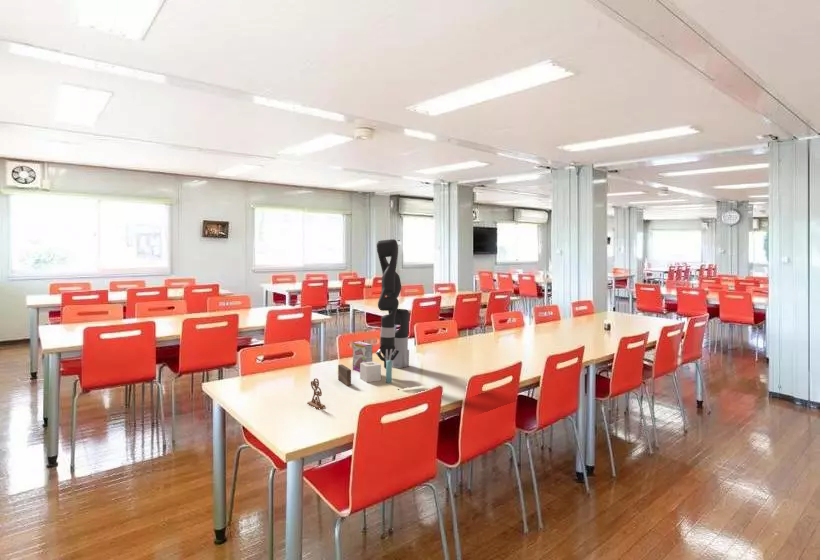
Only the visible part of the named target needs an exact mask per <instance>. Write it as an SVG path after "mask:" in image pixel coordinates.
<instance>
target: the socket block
mask: <svg viewBox="0 0 820 560" xmlns="http://www.w3.org/2000/svg"><path fill="white" fill-rule="evenodd" d="M359 379H360V380H362V381H363V382H365V383H372V382H378V381H381V380H382V365H381V364H380V363H378V362H377V361H374V360H372V362H364V363H360V372H359Z"/></svg>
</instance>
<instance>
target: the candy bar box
mask: <svg viewBox="0 0 820 560" xmlns="http://www.w3.org/2000/svg"><path fill="white" fill-rule="evenodd" d="M364 362H373V344H371V343H368V342H367V343H366V342H363V341H360V340H359V341H355V342H352V371H356V372H359V373H360V363H364Z"/></svg>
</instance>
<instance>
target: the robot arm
mask: <svg viewBox="0 0 820 560" xmlns="http://www.w3.org/2000/svg"><path fill="white" fill-rule="evenodd" d="M376 252H377V255H378V260H379V263H380V267H381V272H382V275H381V276H382V277H381V291H380V296H379V298H378V302H377V308H378V309H379V310H380V311H383V312H388V314H384V315H381V317H380V320H381V322H380V335H379V337H380V340H379V343H380V345H379V348H378V350H377V351H375V354H376V356H377V357H378V358H379V359H380V361H382V362H383V367H384V369H385V370H386V361H388V360H390V361H392V368H396V369H404V368H407V367H410V350H409V347H408V346H409V345H408V343H409V342H408V341H409V331H410V311H409V310H408V309H406V308H405V309H404V308H398V307H399V306H400V305H399V300H398V297H399V295H400V294H401V291H402V283H401V277H400V275H399V274H398V272H397V266H398V265H397V264H398V257H399V256H398V255H399V245H398V242H397V240H396V239H394V238H393V239H385V240H384V239H383V240H381V239H380V240H378V241H377V242H376ZM387 258H390V261H389V262H388V260H387ZM396 325H398V326H399V329H395V327H396ZM403 367H404V368H403Z"/></svg>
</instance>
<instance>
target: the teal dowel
mask: <svg viewBox="0 0 820 560" xmlns="http://www.w3.org/2000/svg"><path fill="white" fill-rule="evenodd" d="M392 373H393V367H392V361H390V360H388V361H386V369H385V383H386V384H392V382H393V381H392V378H393V376H392V375H393V374H392Z"/></svg>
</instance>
